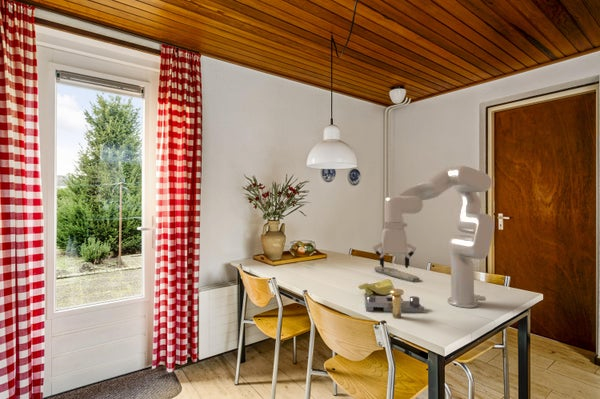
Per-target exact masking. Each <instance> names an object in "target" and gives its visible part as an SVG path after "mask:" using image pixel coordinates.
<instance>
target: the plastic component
mask: <svg viewBox="0 0 600 399" xmlns="http://www.w3.org/2000/svg"><path fill="white" fill-rule="evenodd" d="M357 288H358V289H359V290H365V294H366V296H370V295H371V296H373V295H374V292H375V293H376V294H379V295H381V296H382V295H383V296H387V295H389V294H390V291H389V290H390V289H396V288H395V286H394V284H393V282H392V281H391V279H390V278H387V279H385V280H381V281H378V282H375V283H370V284H369V283H368V282H367V283H363V284H361V285H358V286H357ZM390 295H391V294H390Z"/></svg>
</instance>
